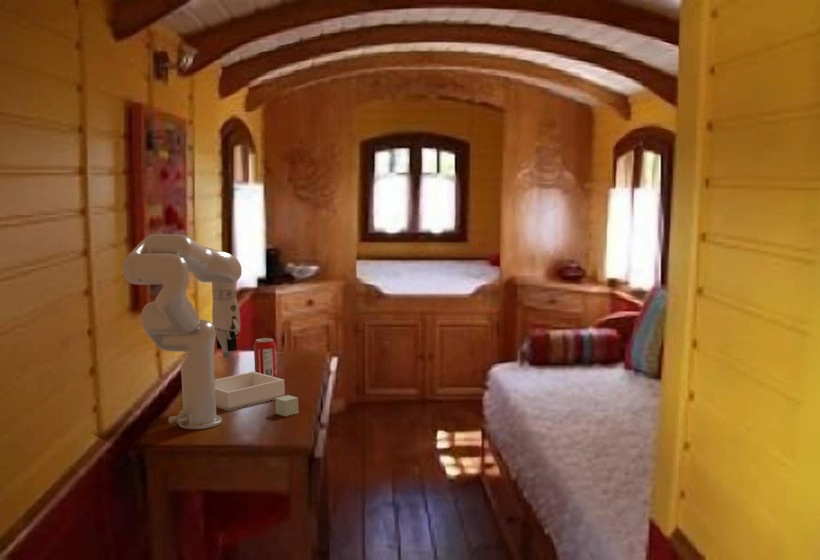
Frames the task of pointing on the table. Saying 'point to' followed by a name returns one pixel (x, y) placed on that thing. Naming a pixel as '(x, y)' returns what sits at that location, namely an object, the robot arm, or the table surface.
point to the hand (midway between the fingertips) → (226, 348)
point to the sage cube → (286, 405)
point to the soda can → (265, 357)
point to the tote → (247, 390)
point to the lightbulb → (224, 342)
